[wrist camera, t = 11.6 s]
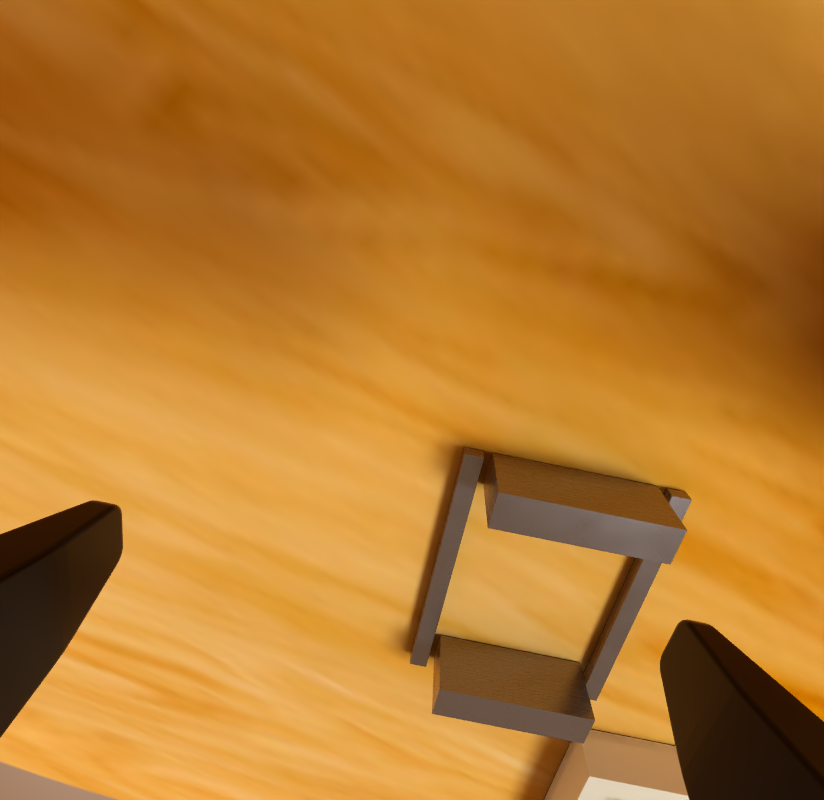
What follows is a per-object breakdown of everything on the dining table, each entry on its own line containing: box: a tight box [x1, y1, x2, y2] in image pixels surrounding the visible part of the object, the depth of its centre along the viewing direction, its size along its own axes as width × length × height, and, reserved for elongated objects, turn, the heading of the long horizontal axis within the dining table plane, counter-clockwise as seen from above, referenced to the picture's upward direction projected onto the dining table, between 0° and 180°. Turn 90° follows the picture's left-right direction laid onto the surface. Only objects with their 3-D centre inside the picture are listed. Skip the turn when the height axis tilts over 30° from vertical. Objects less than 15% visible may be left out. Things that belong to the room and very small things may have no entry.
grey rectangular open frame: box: [410, 447, 691, 744], centre depth 23 cm, size 9×12×3 cm
